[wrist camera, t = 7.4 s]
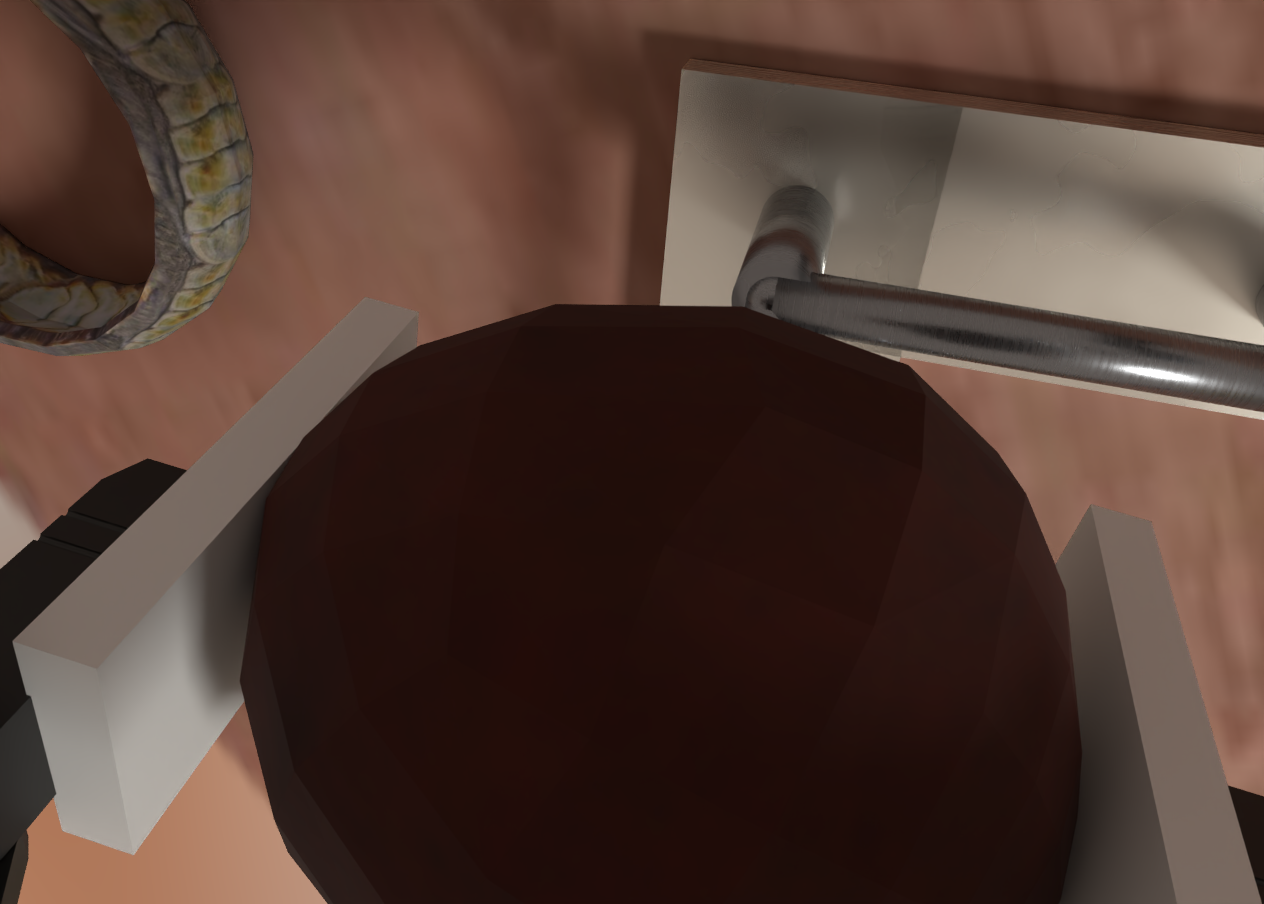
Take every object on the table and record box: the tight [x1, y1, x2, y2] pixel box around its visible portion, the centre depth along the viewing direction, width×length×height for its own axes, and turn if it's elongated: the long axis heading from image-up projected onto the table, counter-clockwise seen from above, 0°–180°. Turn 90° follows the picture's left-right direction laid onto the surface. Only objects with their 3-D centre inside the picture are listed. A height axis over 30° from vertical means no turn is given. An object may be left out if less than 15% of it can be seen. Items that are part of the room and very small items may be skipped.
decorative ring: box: [0, 0, 253, 356], centre depth 22 cm, size 10×3×10 cm
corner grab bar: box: [660, 59, 1264, 420], centre depth 21 cm, size 16×14×5 cm
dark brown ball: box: [240, 304, 1082, 904], centre depth 11 cm, size 8×9×8 cm
